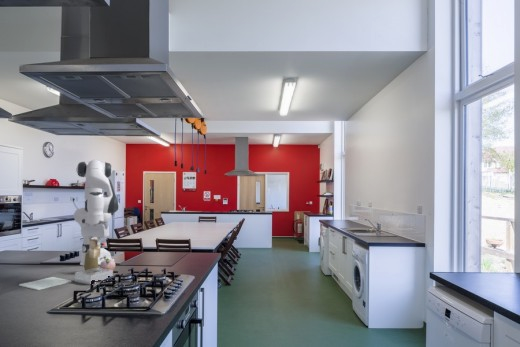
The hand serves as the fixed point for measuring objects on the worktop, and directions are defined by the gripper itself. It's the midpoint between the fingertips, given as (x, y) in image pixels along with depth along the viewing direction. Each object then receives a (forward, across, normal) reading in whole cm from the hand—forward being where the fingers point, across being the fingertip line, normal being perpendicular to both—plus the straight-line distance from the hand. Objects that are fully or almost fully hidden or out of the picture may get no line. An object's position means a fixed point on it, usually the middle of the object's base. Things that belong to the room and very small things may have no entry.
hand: (94, 244), depth 193 cm
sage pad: (+20, +17, +17) cm, 31 cm away
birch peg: (+7, 0, 0) cm, 7 cm away
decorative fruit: (+21, +5, -13) cm, 25 cm away
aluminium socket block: (+20, 0, 0) cm, 20 cm away
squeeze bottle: (+21, +18, -11) cm, 29 cm away
